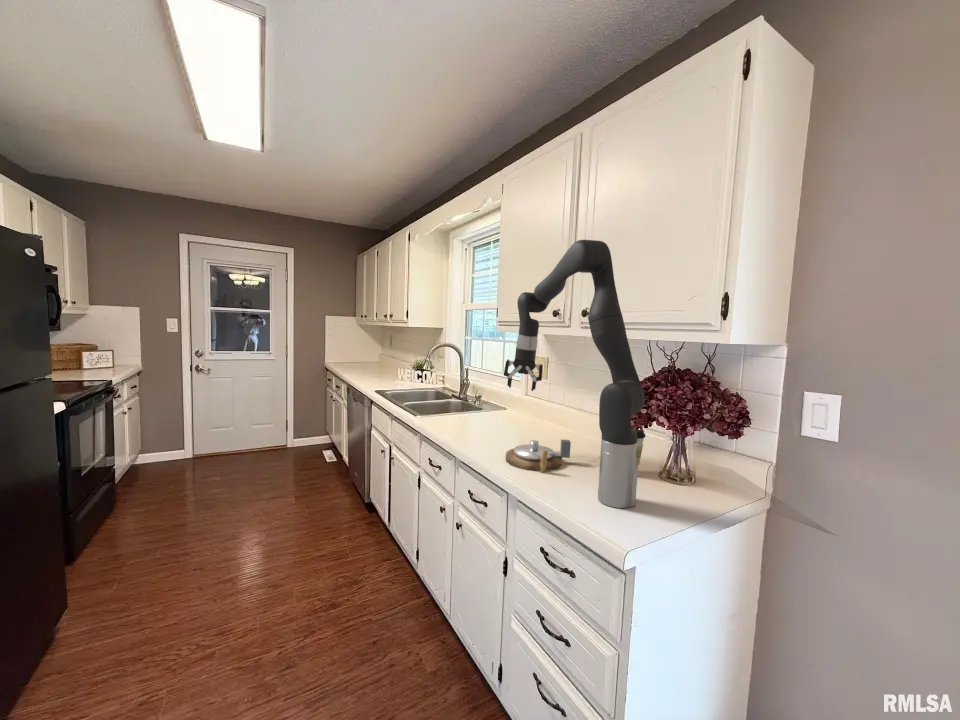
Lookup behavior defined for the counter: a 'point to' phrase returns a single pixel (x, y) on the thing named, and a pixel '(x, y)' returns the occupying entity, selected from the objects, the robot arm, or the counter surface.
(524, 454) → the flange plate
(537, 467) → the base
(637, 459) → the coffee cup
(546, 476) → the counter surface
